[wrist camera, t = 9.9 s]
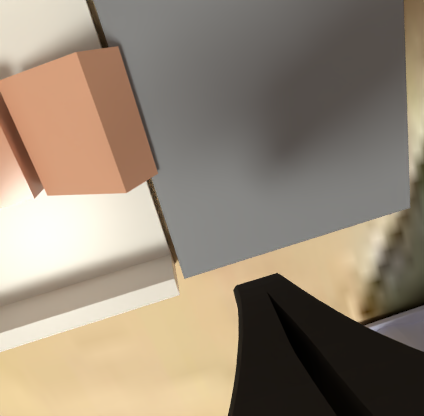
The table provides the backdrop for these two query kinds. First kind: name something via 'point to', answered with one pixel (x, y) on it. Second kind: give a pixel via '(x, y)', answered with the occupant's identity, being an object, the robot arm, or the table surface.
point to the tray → (72, 213)
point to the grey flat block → (266, 117)
